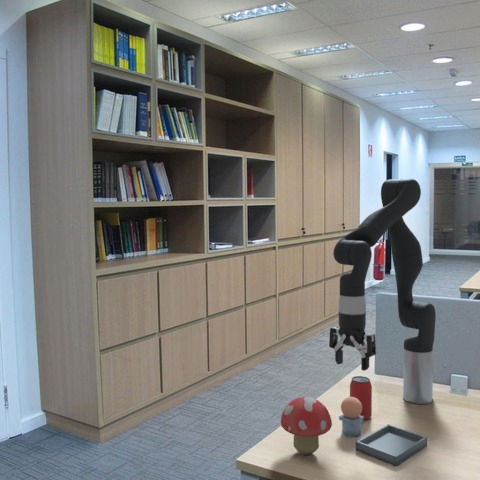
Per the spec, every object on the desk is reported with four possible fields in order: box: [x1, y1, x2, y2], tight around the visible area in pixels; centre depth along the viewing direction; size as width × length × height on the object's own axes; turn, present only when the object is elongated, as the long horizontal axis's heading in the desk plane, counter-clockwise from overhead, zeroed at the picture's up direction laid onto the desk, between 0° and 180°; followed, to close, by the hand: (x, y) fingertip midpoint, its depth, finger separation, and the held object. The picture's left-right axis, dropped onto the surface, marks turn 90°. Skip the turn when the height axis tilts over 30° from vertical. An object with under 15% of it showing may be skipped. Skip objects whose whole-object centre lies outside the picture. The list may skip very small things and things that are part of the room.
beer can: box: [349, 375, 373, 421], centre depth 161 cm, size 7×7×12 cm
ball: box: [340, 396, 362, 419], centre depth 150 cm, size 6×6×6 cm
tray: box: [355, 424, 428, 467], centre depth 140 cm, size 16×12×2 cm
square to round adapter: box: [338, 413, 365, 438], centre depth 150 cm, size 5×5×5 cm
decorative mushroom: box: [280, 396, 333, 456], centre depth 137 cm, size 13×13×15 cm
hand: (351, 366), depth 149 cm, fingers open, 8 cm apart
